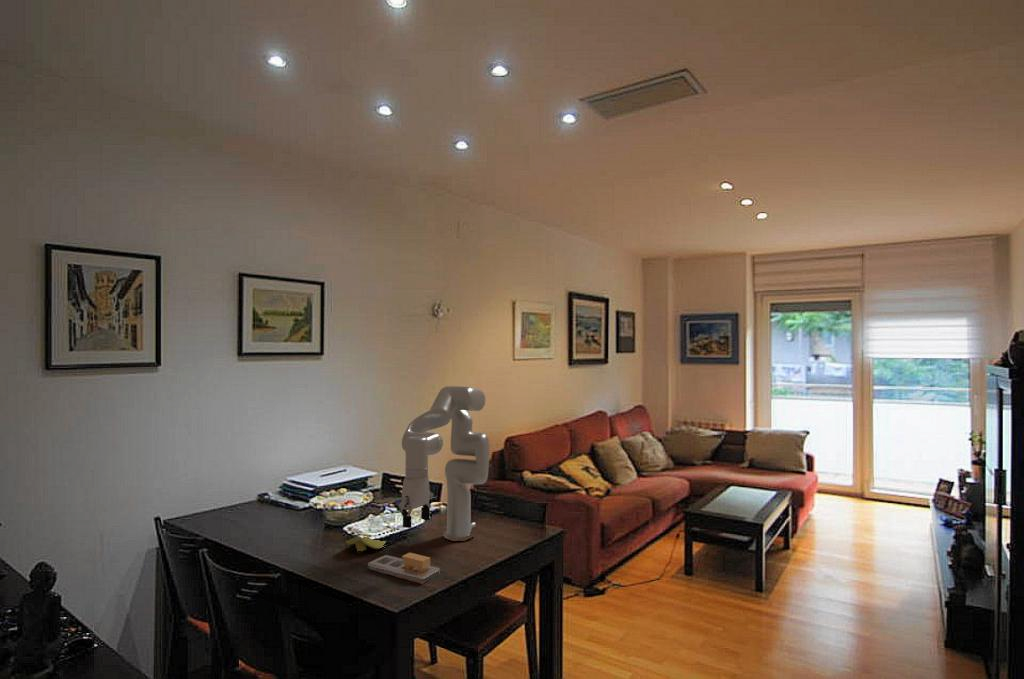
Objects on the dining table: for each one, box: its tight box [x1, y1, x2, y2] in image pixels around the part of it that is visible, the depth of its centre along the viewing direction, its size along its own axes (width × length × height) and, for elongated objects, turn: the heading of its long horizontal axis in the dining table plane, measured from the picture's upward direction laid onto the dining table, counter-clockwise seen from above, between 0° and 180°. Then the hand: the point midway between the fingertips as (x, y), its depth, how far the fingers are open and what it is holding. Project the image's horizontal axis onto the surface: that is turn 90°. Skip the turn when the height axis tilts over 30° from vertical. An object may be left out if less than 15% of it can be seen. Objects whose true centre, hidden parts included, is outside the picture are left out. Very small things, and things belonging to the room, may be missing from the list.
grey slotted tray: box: [367, 554, 440, 579], centre depth 207 cm, size 9×24×2 cm, turn 60°
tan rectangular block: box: [401, 552, 431, 574], centre depth 204 cm, size 4×9×6 cm, turn 59°
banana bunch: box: [345, 525, 392, 552], centre depth 231 cm, size 20×7×10 cm
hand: (416, 523), depth 204 cm, fingers open, 9 cm apart
